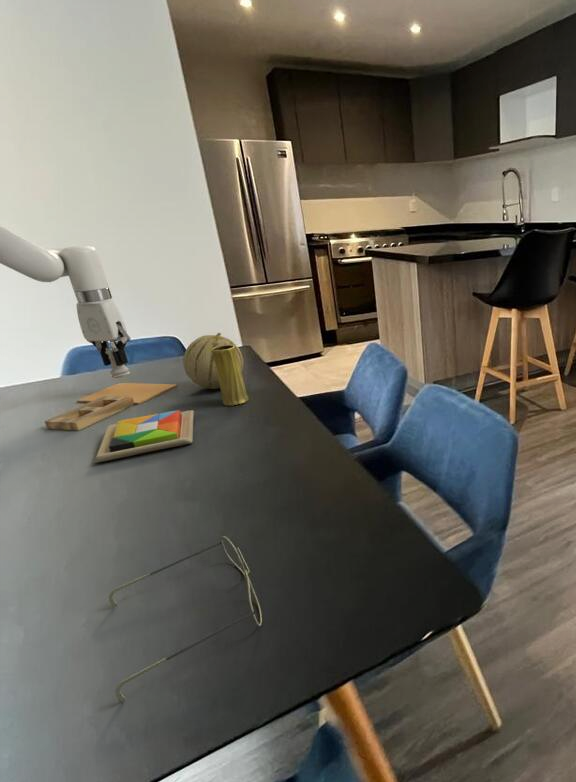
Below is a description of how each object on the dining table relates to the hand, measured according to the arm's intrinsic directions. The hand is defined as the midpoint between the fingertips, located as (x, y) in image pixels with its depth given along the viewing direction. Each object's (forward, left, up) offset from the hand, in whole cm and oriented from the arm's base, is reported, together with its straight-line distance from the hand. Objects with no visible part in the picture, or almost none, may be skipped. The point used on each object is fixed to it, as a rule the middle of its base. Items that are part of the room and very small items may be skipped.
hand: (116, 363), depth 134 cm
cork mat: (+2, -1, -8) cm, 9 cm away
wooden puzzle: (+32, -26, -9) cm, 42 cm away
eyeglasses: (+77, -69, -9) cm, 104 cm away
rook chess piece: (0, 0, -4) cm, 4 cm away
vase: (+38, -4, -9) cm, 39 cm away
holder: (+6, -16, -8) cm, 19 cm away
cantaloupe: (+26, +6, -9) cm, 28 cm away
